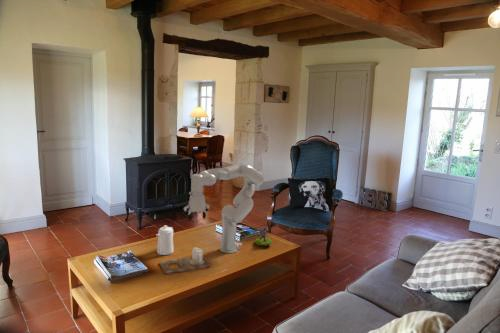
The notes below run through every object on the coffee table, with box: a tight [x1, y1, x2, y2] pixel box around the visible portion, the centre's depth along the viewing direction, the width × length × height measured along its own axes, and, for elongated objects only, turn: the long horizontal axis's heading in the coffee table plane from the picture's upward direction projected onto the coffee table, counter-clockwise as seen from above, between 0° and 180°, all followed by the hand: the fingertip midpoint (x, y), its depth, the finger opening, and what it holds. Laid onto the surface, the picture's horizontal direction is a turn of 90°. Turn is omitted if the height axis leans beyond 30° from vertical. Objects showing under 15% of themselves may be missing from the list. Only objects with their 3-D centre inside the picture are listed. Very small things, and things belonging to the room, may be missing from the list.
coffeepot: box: [155, 224, 175, 256], centre depth 240 cm, size 11×25×19 cm, turn 168°
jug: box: [191, 246, 204, 264], centre depth 226 cm, size 11×7×8 cm, turn 26°
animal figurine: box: [253, 225, 273, 247], centre depth 261 cm, size 14×13×15 cm
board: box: [158, 256, 211, 276], centre depth 224 cm, size 28×16×1 cm, turn 116°
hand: (196, 219), depth 232 cm, fingers open, 9 cm apart
